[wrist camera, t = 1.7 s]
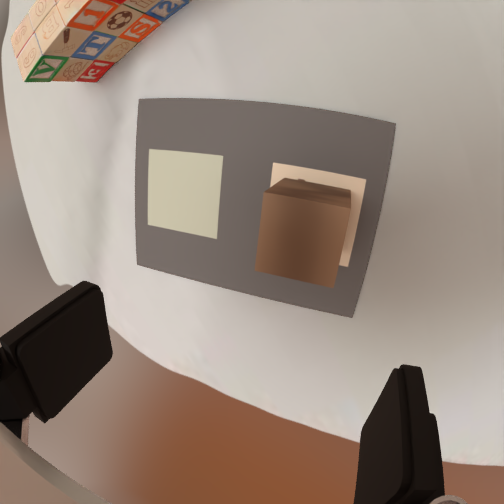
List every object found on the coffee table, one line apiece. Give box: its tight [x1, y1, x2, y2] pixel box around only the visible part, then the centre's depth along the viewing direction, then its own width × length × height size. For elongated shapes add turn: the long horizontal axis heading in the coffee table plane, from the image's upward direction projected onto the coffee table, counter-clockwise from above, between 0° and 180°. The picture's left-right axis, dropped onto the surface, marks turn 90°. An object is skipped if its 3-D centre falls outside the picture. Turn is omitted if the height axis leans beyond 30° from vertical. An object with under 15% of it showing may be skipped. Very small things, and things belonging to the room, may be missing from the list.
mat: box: [135, 98, 396, 318], centre depth 25 cm, size 21×16×1 cm
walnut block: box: [255, 178, 351, 288], centre depth 21 cm, size 5×5×6 cm
